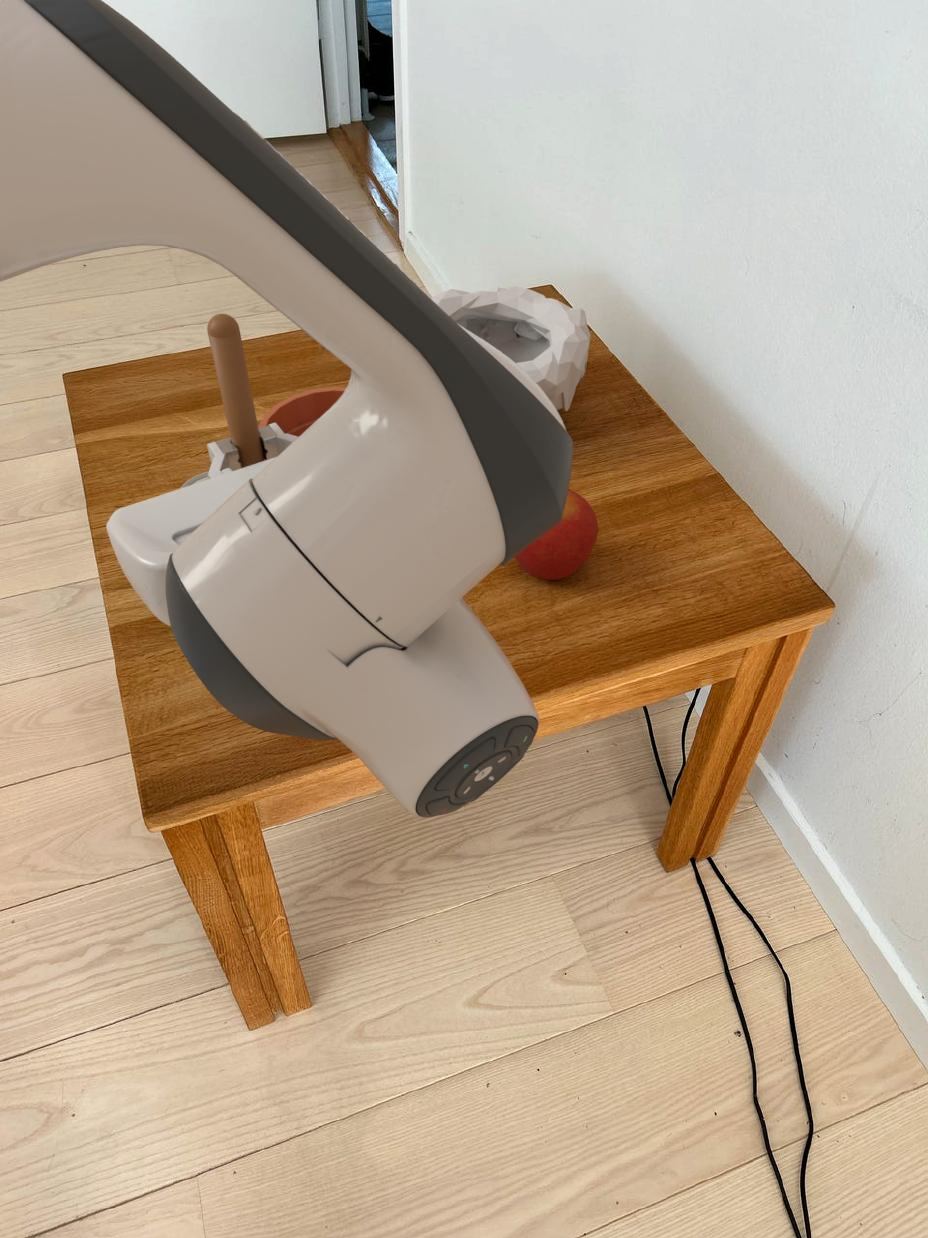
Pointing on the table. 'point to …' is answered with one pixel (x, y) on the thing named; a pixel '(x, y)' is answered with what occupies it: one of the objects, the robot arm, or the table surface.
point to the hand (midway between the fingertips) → (242, 441)
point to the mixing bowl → (302, 409)
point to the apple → (563, 542)
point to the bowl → (527, 334)
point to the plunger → (235, 387)
